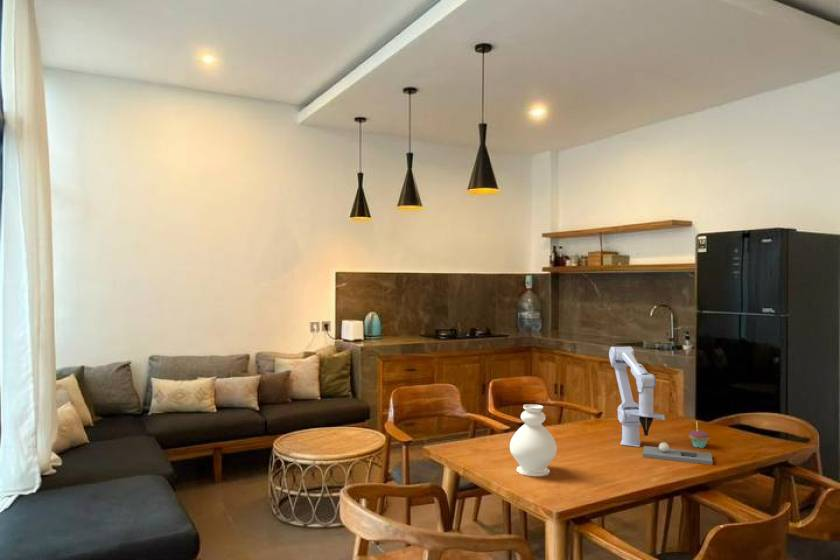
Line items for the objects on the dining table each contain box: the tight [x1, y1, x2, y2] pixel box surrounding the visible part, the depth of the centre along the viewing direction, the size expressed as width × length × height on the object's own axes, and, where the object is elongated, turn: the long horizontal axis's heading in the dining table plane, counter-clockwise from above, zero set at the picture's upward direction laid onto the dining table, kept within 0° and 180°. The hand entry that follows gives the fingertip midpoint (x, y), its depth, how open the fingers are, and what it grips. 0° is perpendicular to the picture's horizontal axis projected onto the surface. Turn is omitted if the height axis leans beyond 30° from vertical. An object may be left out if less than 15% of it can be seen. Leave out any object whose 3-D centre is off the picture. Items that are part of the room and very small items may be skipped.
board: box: [642, 445, 714, 466], centre depth 244 cm, size 12×26×2 cm, turn 67°
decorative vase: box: [509, 403, 558, 477], centre depth 226 cm, size 18×18×25 cm
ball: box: [658, 441, 670, 452], centre depth 246 cm, size 4×4×4 cm
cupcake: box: [688, 419, 710, 449], centre depth 259 cm, size 9×8×12 cm
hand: (646, 435), depth 249 cm, fingers closed
